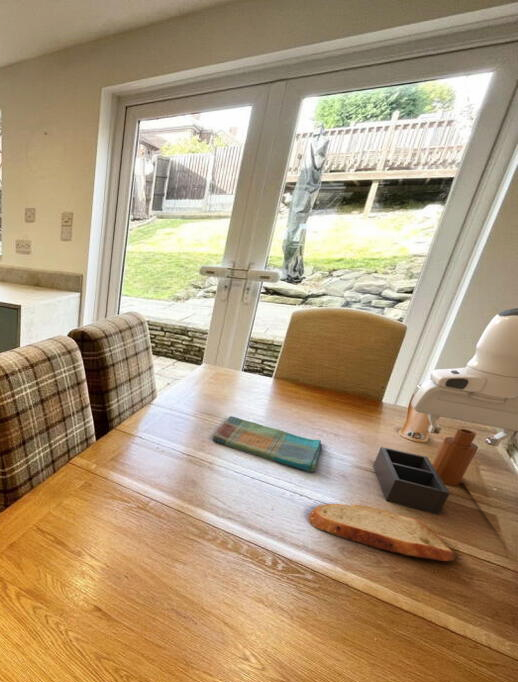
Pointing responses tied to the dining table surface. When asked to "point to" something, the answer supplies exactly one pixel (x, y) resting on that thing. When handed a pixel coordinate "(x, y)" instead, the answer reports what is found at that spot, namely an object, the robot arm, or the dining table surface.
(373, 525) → the bread slice
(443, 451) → the spice bottle
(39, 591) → the dining table surface
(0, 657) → the dining table surface
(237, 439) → the dish towel
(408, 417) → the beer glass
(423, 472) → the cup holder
